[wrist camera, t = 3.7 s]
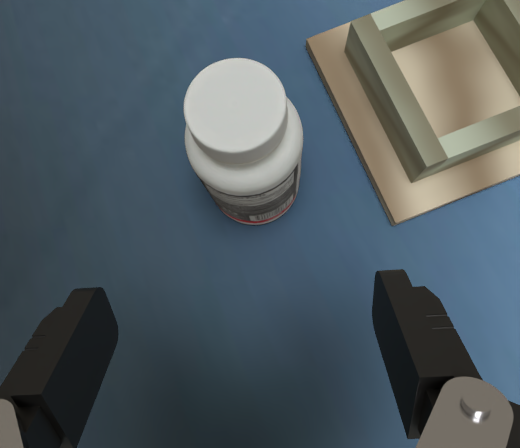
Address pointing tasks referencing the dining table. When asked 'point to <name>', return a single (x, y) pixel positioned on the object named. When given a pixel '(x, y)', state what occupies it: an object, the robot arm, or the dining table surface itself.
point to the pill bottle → (244, 139)
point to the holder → (428, 98)
